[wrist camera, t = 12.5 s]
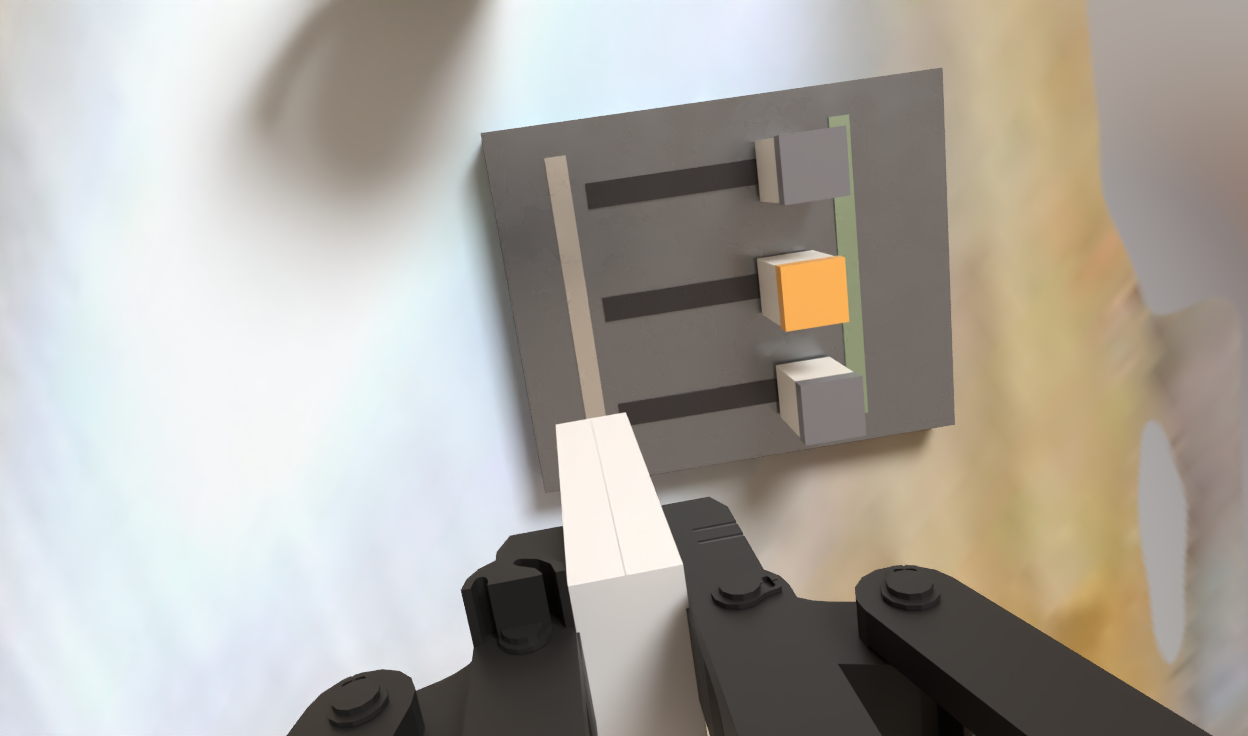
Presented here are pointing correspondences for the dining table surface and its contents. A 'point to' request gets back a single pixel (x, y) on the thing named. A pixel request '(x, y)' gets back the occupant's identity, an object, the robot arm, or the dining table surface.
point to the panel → (723, 267)
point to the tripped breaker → (803, 289)
